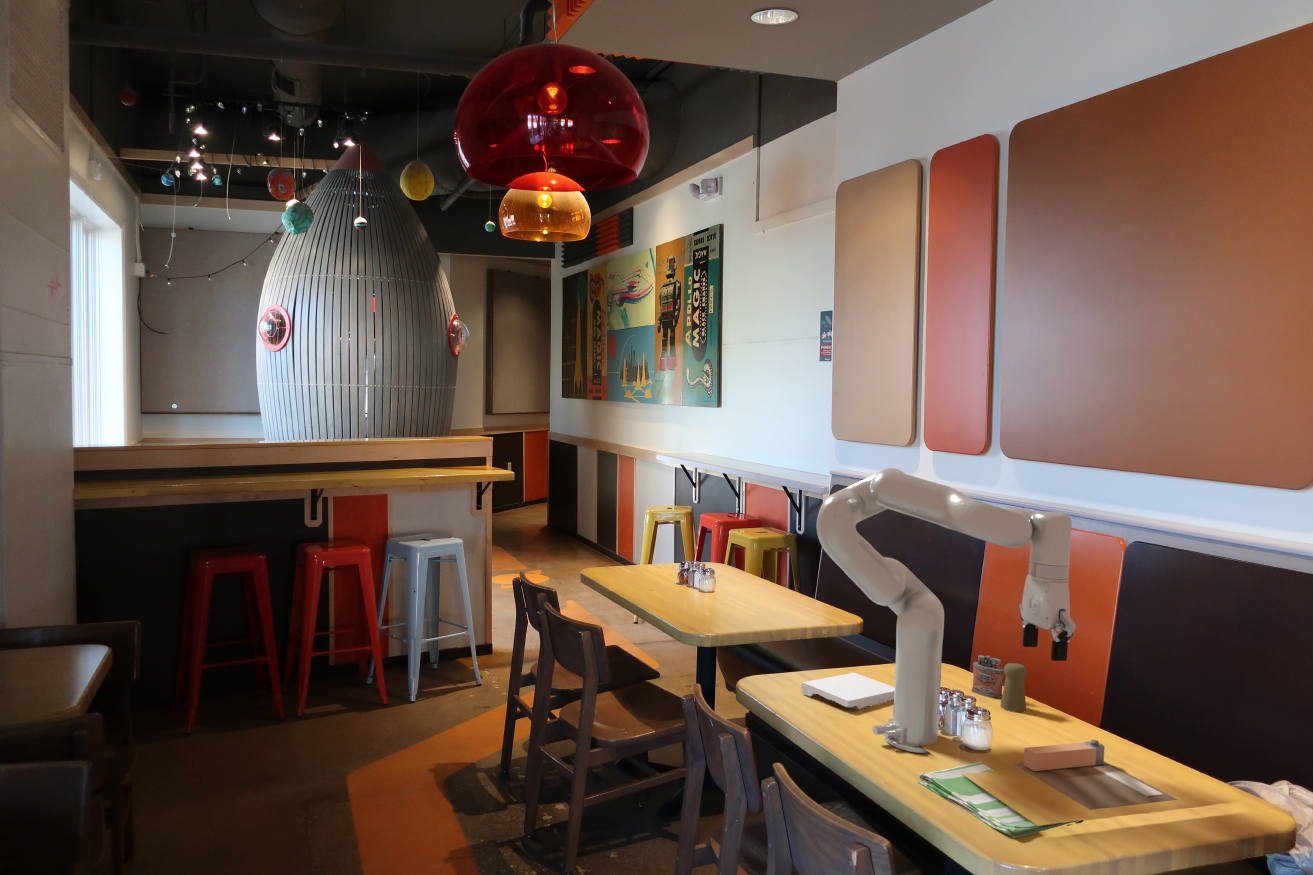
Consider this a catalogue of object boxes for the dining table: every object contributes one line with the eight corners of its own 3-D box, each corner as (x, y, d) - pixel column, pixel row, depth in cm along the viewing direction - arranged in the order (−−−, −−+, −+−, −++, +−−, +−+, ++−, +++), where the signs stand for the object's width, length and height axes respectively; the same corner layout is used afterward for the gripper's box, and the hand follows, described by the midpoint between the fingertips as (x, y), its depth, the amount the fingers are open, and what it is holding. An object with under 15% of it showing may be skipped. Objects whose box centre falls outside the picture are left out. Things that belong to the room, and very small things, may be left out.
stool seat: (1089, 817, 152) (1090, 808, 152) (1013, 770, 171) (1014, 762, 171) (1176, 806, 158) (1177, 797, 158) (1093, 762, 177) (1094, 754, 177)
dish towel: (1011, 843, 143) (1012, 827, 143) (914, 785, 164) (915, 771, 164) (1083, 824, 150) (1084, 809, 150) (982, 772, 171) (982, 758, 171)
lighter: (969, 691, 221) (971, 653, 220) (975, 688, 223) (977, 651, 223) (998, 700, 215) (1000, 661, 214) (1005, 697, 217) (1007, 659, 216)
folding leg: (1093, 757, 175) (1095, 736, 175) (1107, 764, 172) (1108, 743, 172) (1022, 764, 170) (1023, 743, 170) (1035, 771, 167) (1036, 750, 167)
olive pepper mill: (1029, 713, 206) (1031, 668, 205) (1002, 710, 207) (1005, 666, 206) (1023, 705, 212) (1025, 661, 211) (998, 702, 213) (1000, 659, 212)
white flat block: (853, 684, 225) (801, 695, 213) (854, 672, 225) (802, 682, 213) (899, 702, 213) (846, 714, 201) (900, 689, 213) (847, 700, 201)
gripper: (1008, 563, 182) (1003, 641, 183) (1058, 580, 165) (1053, 666, 166) (1039, 564, 184) (1035, 641, 184) (1093, 580, 166) (1087, 665, 167)
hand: (1043, 653), depth 175 cm, fingers open, 9 cm apart
